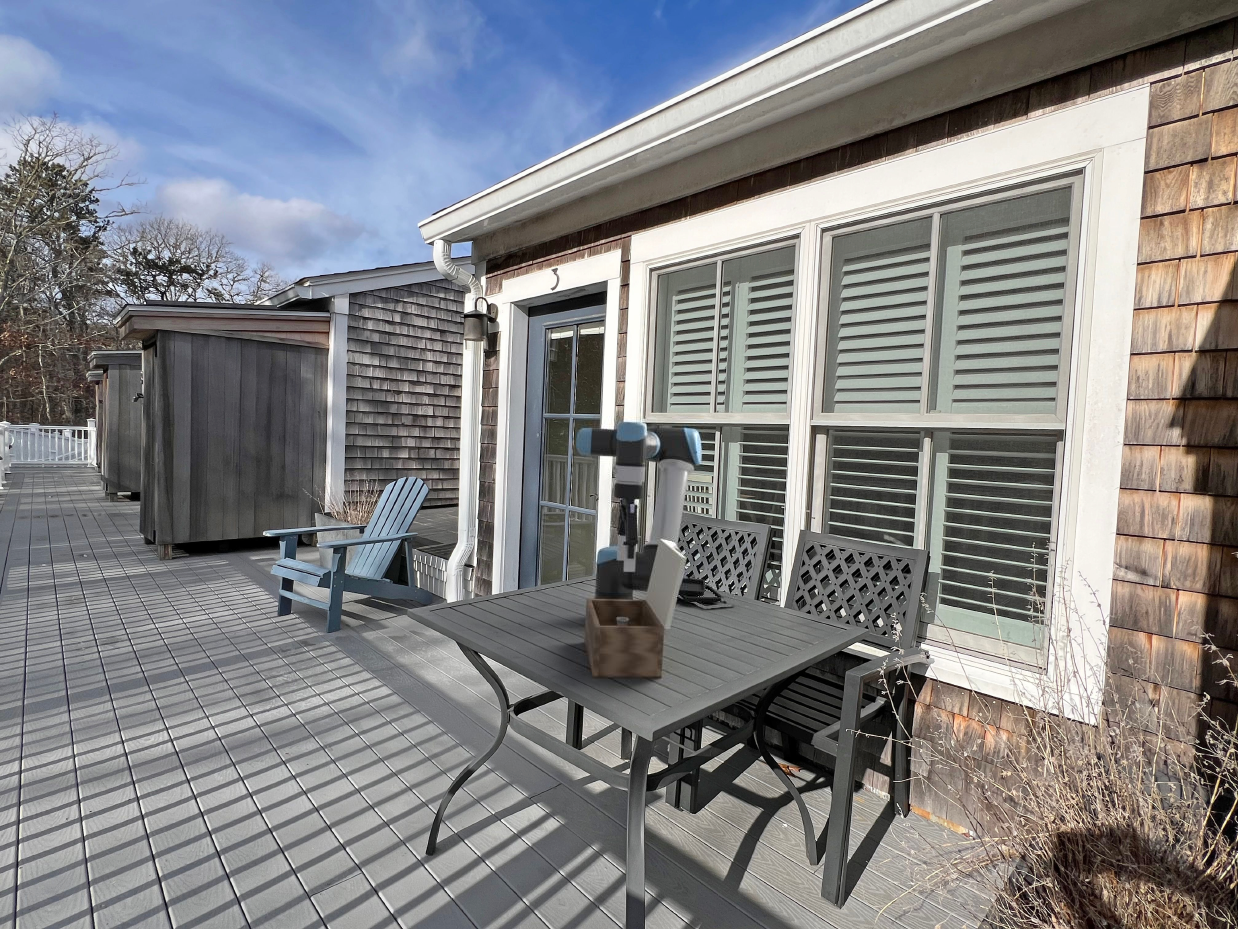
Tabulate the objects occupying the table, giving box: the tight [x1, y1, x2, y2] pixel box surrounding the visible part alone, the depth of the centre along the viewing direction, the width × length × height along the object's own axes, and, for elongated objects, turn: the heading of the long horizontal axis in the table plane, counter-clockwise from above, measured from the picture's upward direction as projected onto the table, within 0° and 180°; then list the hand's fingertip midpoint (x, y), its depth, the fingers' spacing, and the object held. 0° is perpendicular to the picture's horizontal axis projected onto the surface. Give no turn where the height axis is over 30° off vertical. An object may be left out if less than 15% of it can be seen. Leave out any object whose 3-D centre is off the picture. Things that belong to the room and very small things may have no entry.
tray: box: [678, 577, 725, 606], centre depth 234 cm, size 30×23×5 cm
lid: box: [644, 539, 687, 631], centre depth 167 cm, size 17×28×1 cm
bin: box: [584, 598, 665, 679], centre depth 167 cm, size 16×26×12 cm, turn 7°
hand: (625, 565), depth 166 cm, fingers open, 13 cm apart
